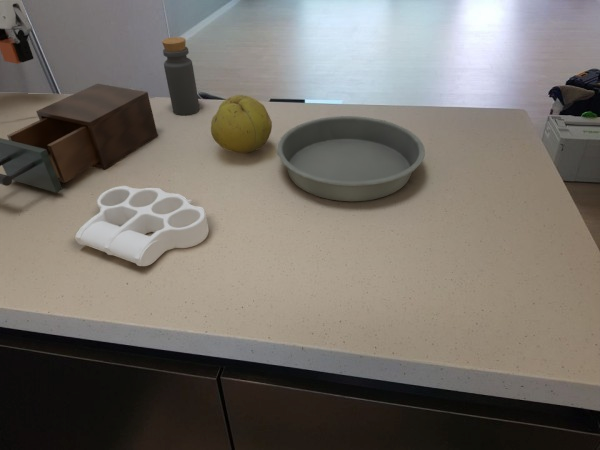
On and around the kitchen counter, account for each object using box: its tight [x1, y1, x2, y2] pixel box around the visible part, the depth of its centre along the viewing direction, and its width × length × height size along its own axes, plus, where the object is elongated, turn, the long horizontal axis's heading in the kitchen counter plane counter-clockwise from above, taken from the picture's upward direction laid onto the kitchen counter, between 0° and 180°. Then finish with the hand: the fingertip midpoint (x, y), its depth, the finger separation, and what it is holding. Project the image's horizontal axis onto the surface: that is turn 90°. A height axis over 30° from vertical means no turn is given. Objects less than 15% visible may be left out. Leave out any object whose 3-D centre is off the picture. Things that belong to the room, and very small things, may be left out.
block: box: [0, 36, 22, 64], centre depth 100 cm, size 4×4×4 cm
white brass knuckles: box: [74, 185, 210, 267], centre depth 65 cm, size 3×18×15 cm
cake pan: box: [276, 115, 426, 202], centre depth 78 cm, size 25×25×4 cm
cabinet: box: [36, 83, 159, 171], centre depth 85 cm, size 15×13×9 cm
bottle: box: [161, 36, 200, 116], centre depth 97 cm, size 6×6×15 cm
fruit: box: [210, 94, 273, 154], centre depth 83 cm, size 11×12×10 cm
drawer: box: [0, 117, 99, 194], centre depth 76 cm, size 19×11×7 cm, turn 155°
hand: (18, 58), depth 101 cm, fingers closed on block, 4 cm apart
